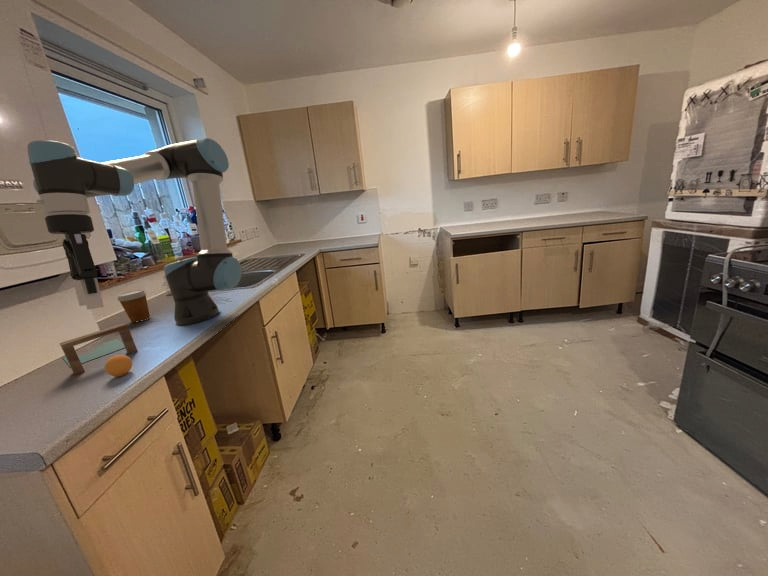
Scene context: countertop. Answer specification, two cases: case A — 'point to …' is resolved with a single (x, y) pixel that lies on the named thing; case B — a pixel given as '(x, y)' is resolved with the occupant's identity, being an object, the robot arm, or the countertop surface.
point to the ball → (118, 365)
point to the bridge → (69, 344)
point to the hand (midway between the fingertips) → (91, 306)
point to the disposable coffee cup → (135, 305)
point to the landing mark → (101, 351)
